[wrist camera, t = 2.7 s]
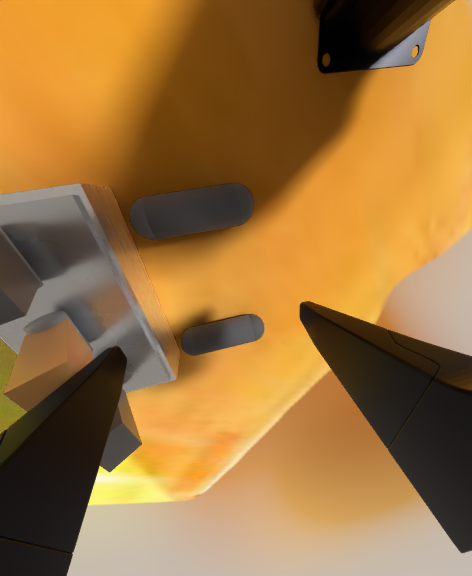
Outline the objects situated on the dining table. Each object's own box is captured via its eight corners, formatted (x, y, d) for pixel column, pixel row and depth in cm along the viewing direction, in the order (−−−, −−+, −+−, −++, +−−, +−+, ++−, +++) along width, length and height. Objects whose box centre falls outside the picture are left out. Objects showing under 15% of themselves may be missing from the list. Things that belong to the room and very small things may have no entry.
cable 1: (246, 181, 11) (257, 177, 9) (250, 220, 13) (260, 224, 10) (130, 199, 11) (113, 200, 9) (145, 238, 12) (133, 247, 10)
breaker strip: (110, 187, 10) (76, 182, 7) (180, 351, 17) (176, 382, 14) (-42, 209, 10) (-146, 214, 7) (94, 372, 16) (71, 409, 13)
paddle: (104, 360, 12) (120, 420, 8) (123, 384, 13) (143, 445, 10) (76, 376, 11) (80, 450, 8) (98, 400, 12) (111, 473, 9)
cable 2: (258, 306, 16) (267, 322, 14) (260, 326, 17) (268, 343, 15) (178, 324, 15) (175, 344, 13) (186, 343, 17) (184, 364, 15)
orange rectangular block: (65, 307, 10) (63, 357, 6) (91, 342, 11) (102, 400, 8) (26, 321, 9) (-2, 390, 5) (59, 358, 10) (55, 432, 7)
